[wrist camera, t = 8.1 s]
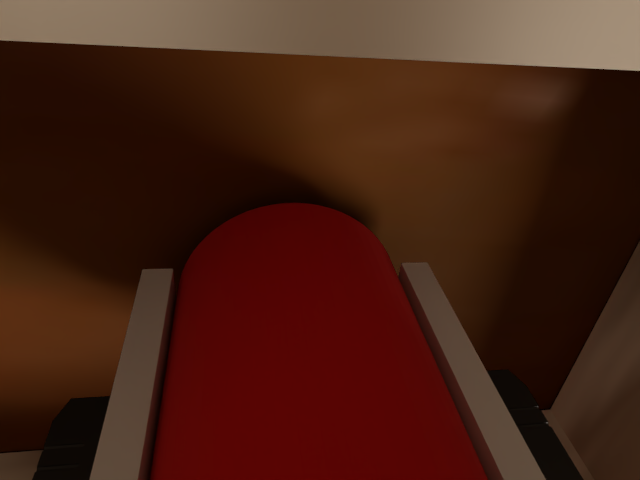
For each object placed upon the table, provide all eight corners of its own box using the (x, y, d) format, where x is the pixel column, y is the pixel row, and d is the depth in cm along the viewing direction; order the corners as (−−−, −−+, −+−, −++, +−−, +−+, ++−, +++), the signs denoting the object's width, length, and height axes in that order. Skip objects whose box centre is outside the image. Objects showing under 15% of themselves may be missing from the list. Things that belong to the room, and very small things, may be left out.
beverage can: (177, 343, 16) (83, 1056, 6) (186, 170, 13) (11, 1124, 3) (357, 349, 17) (521, 936, 7) (408, 194, 14) (827, 882, 4)
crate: (825, -30, 12) (1234, 13, 7) (565, 424, 22) (661, 573, 17) (-509, -154, 8) (-1793, -262, 3) (-83, 480, 18) (-205, 700, 13)
